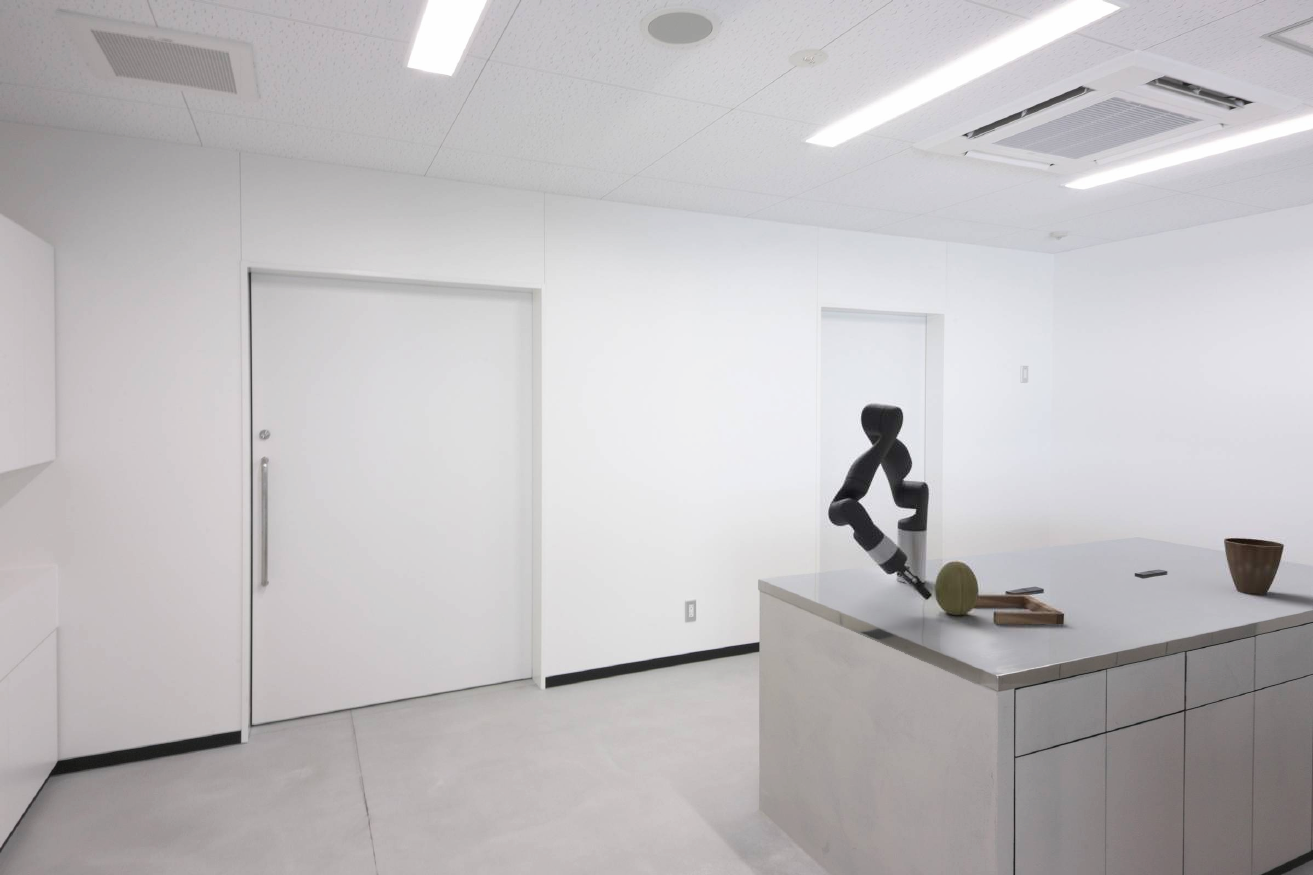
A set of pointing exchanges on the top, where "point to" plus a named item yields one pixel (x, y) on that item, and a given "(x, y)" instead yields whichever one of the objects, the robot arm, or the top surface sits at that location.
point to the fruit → (956, 588)
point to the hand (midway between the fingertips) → (928, 596)
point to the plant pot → (1253, 563)
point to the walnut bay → (1037, 616)
